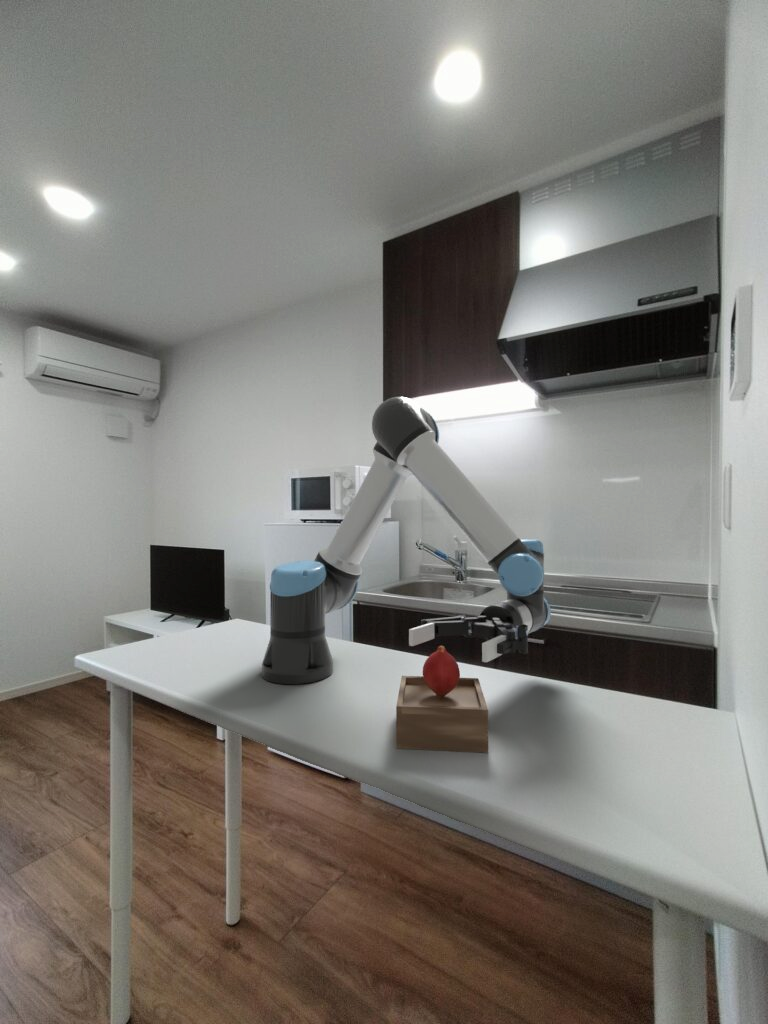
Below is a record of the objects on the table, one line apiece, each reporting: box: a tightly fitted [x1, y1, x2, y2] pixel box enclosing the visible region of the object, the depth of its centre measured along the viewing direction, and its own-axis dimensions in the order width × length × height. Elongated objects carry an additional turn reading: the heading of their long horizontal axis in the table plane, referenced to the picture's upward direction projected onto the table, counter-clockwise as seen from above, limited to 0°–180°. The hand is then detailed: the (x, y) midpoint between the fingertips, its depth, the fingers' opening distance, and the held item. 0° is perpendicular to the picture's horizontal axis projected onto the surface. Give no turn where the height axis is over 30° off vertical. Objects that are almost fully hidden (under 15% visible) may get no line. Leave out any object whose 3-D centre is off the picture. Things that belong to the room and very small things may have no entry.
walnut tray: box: [395, 675, 489, 754], centre depth 71 cm, size 13×13×6 cm
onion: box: [422, 645, 461, 697], centre depth 72 cm, size 6×6×8 cm
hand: (445, 644), depth 72 cm, fingers open, 13 cm apart
